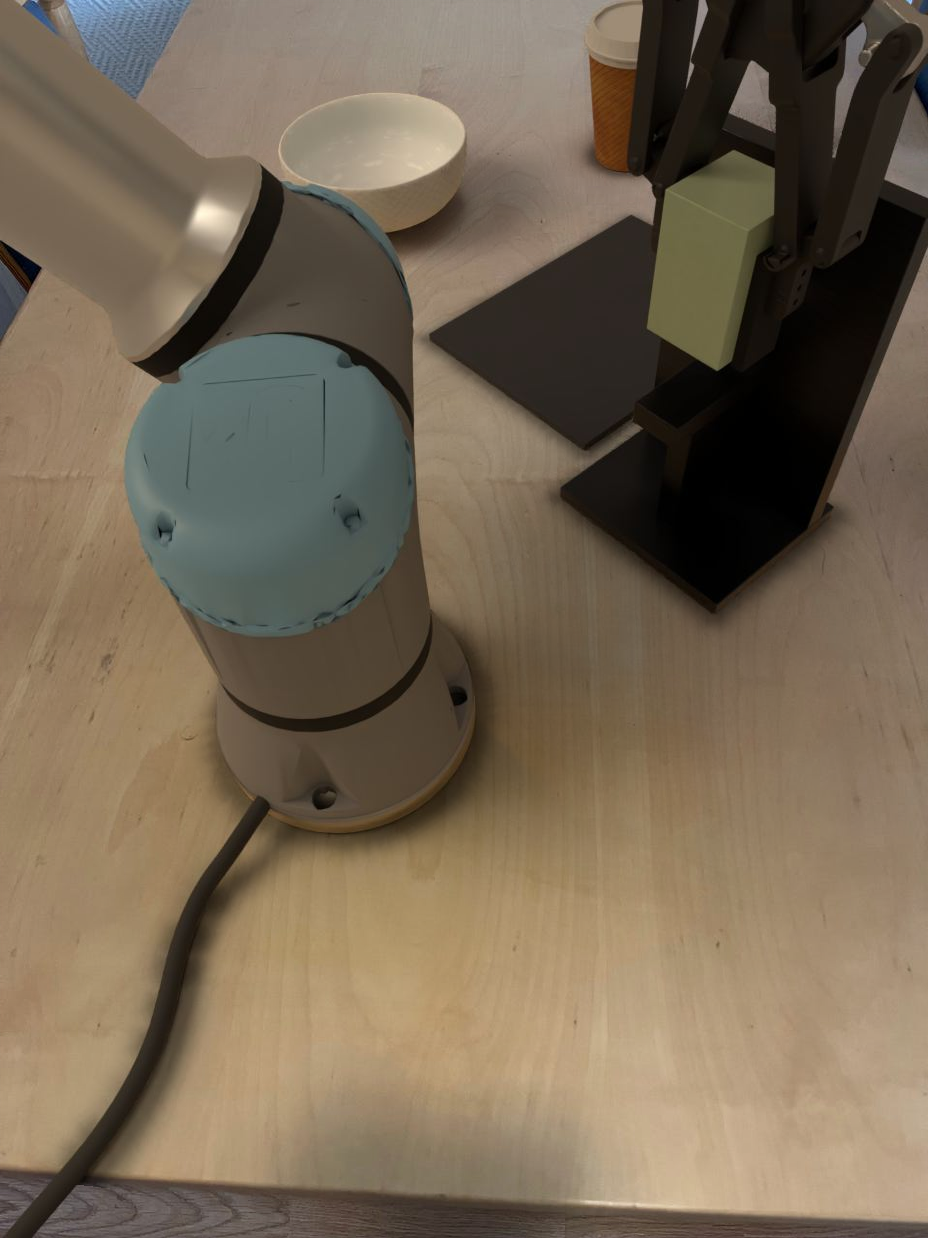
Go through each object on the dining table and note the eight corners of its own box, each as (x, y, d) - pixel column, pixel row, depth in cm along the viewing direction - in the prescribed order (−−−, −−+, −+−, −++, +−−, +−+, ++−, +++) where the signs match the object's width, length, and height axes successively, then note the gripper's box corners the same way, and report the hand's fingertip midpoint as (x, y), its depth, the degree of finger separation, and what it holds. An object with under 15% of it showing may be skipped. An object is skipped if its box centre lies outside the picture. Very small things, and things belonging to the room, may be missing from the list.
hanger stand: (713, 614, 57) (803, 304, 39) (559, 496, 64) (571, 182, 45) (830, 516, 61) (963, 191, 43) (674, 414, 68) (729, 94, 49)
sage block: (717, 371, 47) (748, 230, 41) (646, 328, 50) (665, 188, 43) (777, 328, 49) (817, 187, 43) (706, 289, 51) (733, 149, 45)
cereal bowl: (353, 286, 80) (339, 210, 74) (262, 207, 88) (244, 134, 82) (506, 213, 85) (504, 137, 79) (407, 145, 93) (398, 72, 87)
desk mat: (584, 450, 66) (584, 444, 66) (429, 339, 75) (428, 333, 74) (791, 305, 74) (793, 299, 74) (630, 220, 83) (631, 213, 82)
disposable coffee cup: (672, 183, 86) (691, 45, 76) (572, 178, 87) (578, 42, 78) (679, 132, 91) (697, -3, 81) (585, 128, 93) (591, -5, 83)
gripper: (1150, -219, 28) (894, 379, 47) (697, -297, 36) (636, 238, 55) (1016, -155, 25) (803, 451, 44) (562, -254, 34) (547, 291, 53)
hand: (711, 332), depth 50 cm, fingers closed on sage block, 5 cm apart
